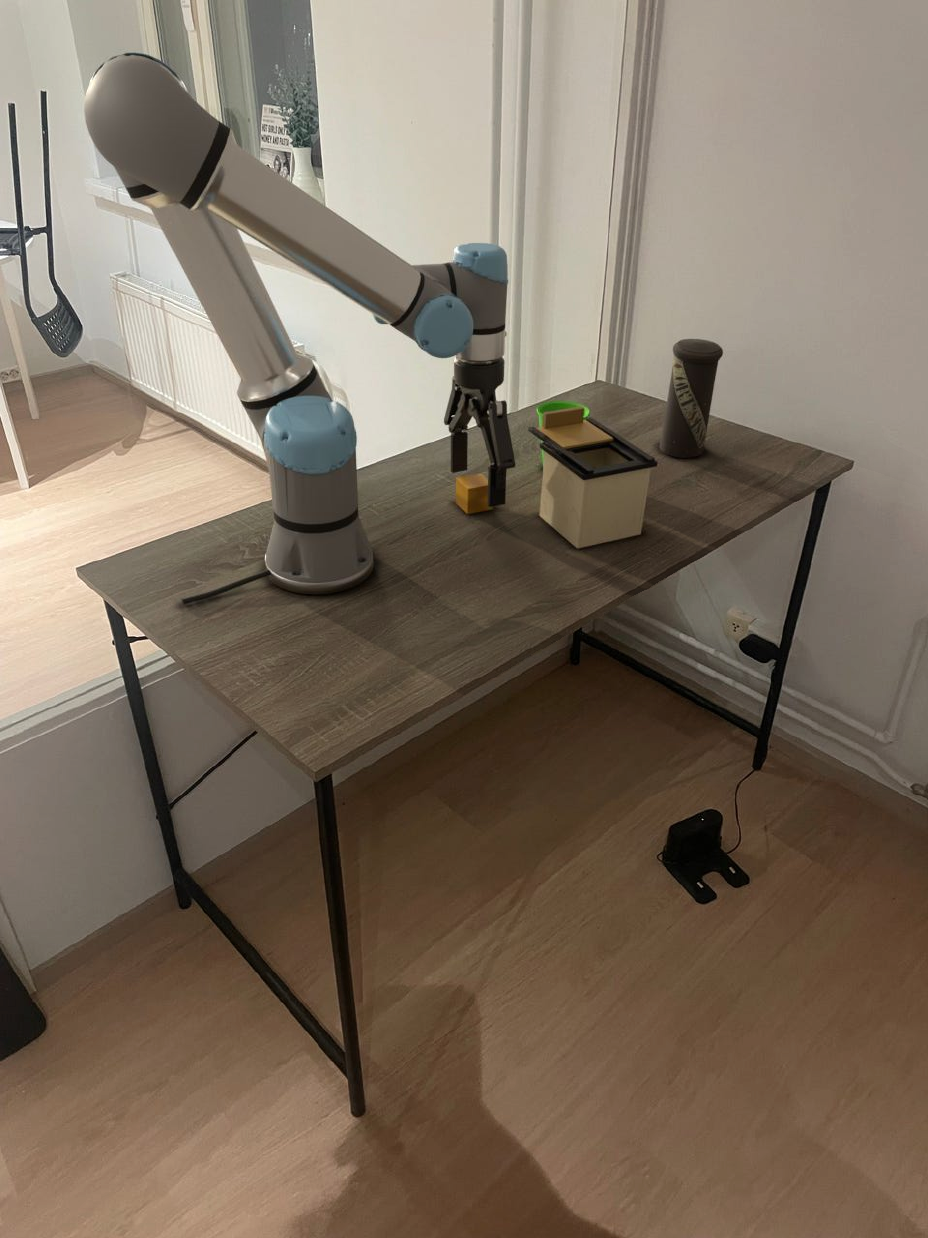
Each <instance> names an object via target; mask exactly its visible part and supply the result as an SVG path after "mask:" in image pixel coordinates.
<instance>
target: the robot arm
mask: <svg viewBox="0 0 928 1238" xmlns="http://www.w3.org/2000/svg"><path fill="white" fill-rule="evenodd" d="M83 105H84V106H83V112H84V121H85V124H86V125H85V126H86V129H87V131H88V135H89V137H90V138H91V140H92V141H91V142H93V144H94V146H95V148H96V149H97V151H98V152H99V154H100V155H101V156H102V157H103V158H104V159H105V161H107V162H108V163H109V164H110V165H111V166H112V167H113V168H114V170H115V172H116V173H117V175H118V177H119V178H120V181H121V182H122V184H123V186H124V188H125V190H126V192H127V193H128V195H129V197H130V199H131V200H132V202H135V203H137V204H140V205H143V206H144V207H147V208H148V209H149V210H150V211H151V212H152V214H153V216H154V218H155V220H156V221H157V223H158V225H159V227H160V229H161V231H162V233H163V235H164V237H165V238H166V240H167V242H168V244H169V246H170V248H171V250H172V252H173V253H174V255H175V257H176V259H177V261H178V263H179V265H180V267H181V269H182V271H183V273H184V274H185V276H186V278H187V280H188V282H189V283H190V286H191V288H192V290H193V291H194V293H195V295H196V297H197V299H198V301H199V303H200V304H201V306H202V308H203V310H204V313H205V314H206V316H207V317H208V320H209V321H210V324H211V326H212V327H213V329H214V331H215V333H216V335H217V336H218V338H219V340H220V342H221V344H222V346H223V348H224V350H225V353H227V355H228V358H229V359H230V361H231V363H232V365H233V367H234V369H235V370H236V372H237V374H238V376H239V378H240V381H239V385H238V387H237V390H236V395H237V397H238V399H239V401H240V403H241V405H242V407H243V409H244V410H245V412H246V414H247V416H248V418H249V420H250V422H251V423H252V426H253V427H254V429H255V431H256V433H257V435H258V437H259V440H260V442H261V446H262V449H263V453H264V456H265V460H266V464H267V468H268V474H269V482H270V483H269V484H270V493H271V503H272V511H273V525H272V529H271V533H270V537H269V540H268V545H267V548H266V552H265V555H264V564H265V570H263V571H260V572H258V573H255V574H252V575H249V576H247V577H244V578H241V579H239V580H236V581H234V582H231V583H229V584H225V585H223V586H220V587H218V588H215V589H213V590H209V591H205V592H203V593H200V594H196V595H191V596H187V597H184V598H181V603H182V605H187V604H190V603H195V602H197V601H198V602H199V601H202V600H205V599H209V598H212V597H215V596H218V595H221V594H224V593H226V592H228V591H231V590H235V589H236V588H239V587H241V586H244V585H247V584H249V583H252V582H255V581H257V580H260V579H263V578H266V577H267V578H269V580H270V581H271V582H272V583H273V584H274V585H276V586H277V587H278V588H281V589H283V590H286V591H288V592H292V593H296V594H301V595H327V594H335V593H339V592H343V591H346V590H350V589H351V588H354V587H356V586H358V585H360V584H361V583H363V582H364V581H366V580H367V579H368V578H369V577H370V575H371V574H372V572H373V569H374V551H373V548H372V546H371V543H370V541H369V539H368V536H367V534H366V531H365V529H364V526H363V524H362V521H361V518H360V516H359V494H358V471H357V469H358V468H357V443H358V442H357V440H358V436H357V430H356V428H355V427H356V426H355V421H354V417H353V415H352V413H351V412H350V411H349V409H348V408H347V407H346V406H345V405H343V404H342V403H340V402H339V401H335V400H334V401H333V399H332V397H331V395H330V393H329V390H328V389H326V387H325V385H324V383H323V382H324V381H323V380H322V378H321V376H320V374H319V372H318V369H317V368H316V366H315V364H314V361H313V360H312V359H311V357H309V356H307V355H304V354H301V353H299V352H297V351H296V349H295V346H294V344H293V342H292V340H291V338H290V336H289V333H288V332H287V330H286V327H285V325H284V324H283V321H282V319H281V317H280V315H279V313H278V310H277V309H276V306H275V305H274V302H273V300H272V298H271V296H270V293H269V292H268V289H267V288H266V286H265V284H264V282H263V279H262V278H261V275H260V273H259V271H258V268H257V267H256V264H255V262H254V260H253V258H252V256H251V255H250V252H249V250H248V248H247V246H246V244H245V242H244V240H243V238H242V236H241V233H240V231H241V232H242V233H244V234H245V235H247V236H249V237H250V238H251V239H253V240H254V241H256V242H258V243H260V244H261V245H263V246H264V247H266V248H268V249H269V250H271V251H272V252H273V253H275V254H277V255H279V256H280V257H282V258H283V259H285V260H287V261H288V262H289V263H291V264H293V265H294V266H296V267H298V268H299V269H301V270H303V271H304V272H306V274H309V275H310V276H312V277H314V278H315V279H316V280H318V281H320V282H322V283H323V284H324V285H326V286H327V287H329V288H330V289H333V290H334V291H335V292H338V293H339V294H340V295H342V296H344V297H345V298H347V299H348V300H350V301H351V302H354V303H355V304H356V305H357V306H359V307H361V308H363V309H364V310H366V311H368V312H369V313H371V314H372V316H373V319H374V320H375V322H376V323H377V324H378V325H389V326H390V327H392V328H394V330H397V331H398V332H399V333H402V334H403V335H404V336H406V337H408V338H409V339H411V340H412V341H414V342H415V343H416V344H417V346H418V348H419V349H421V350H422V351H424V352H426V353H427V354H428V355H429V356H431V357H434V358H437V359H448V358H453V357H454V359H453V376H452V379H451V391H450V394H449V398H448V402H447V406H446V409H445V414H444V417H443V423H444V425H445V426H448V432H449V433H450V473H452V474H455V473H458V472H460V473H461V472H465V471H468V445H469V444H468V443H469V442H468V441H469V439H468V438H469V437H468V436H469V435H468V432H466V431H469V426H468V425H469V423H470V421H471V420H472V419H474V420H475V423H476V426H477V428H479V429H480V431H481V434H482V437H483V441H484V444H485V448H486V451H487V454H488V458H489V462H490V465H489V466H488V467H487V470H488V471H487V477H488V478H487V479H488V506H489V507H492V508H493V507H498V506H502V505H506V494H507V493H506V491H507V470H509V469H514V468H516V460H515V453H514V449H513V442H512V436H511V432H510V426H509V419H508V404H507V401H506V400H497V396H496V390H497V389H498V387H500V386H501V385H502V384H504V382H505V364H506V363H505V358H504V357H503V356H504V355H505V353H506V352H505V351H506V348H505V347H506V337H507V334H508V333H507V331H506V318H507V303H508V302H507V298H508V284H509V274H508V273H509V271H508V269H509V268H508V255H507V252H506V251H505V249H504V248H502V247H501V246H499V245H498V244H493V243H489V242H487V243H486V242H469V243H465V244H464V243H463V244H460V245H458V246H457V247H456V248H455V249H454V252H453V253H454V254H453V255H454V256H453V257H452V261H448V262H444V263H443V262H441V263H427V264H425V263H424V264H410V263H409V262H408V261H406V260H404V258H401V257H400V256H398V255H397V254H396V253H394V252H393V251H391V250H390V249H389V248H388V247H385V245H383V244H381V243H379V242H378V241H377V240H375V239H374V238H372V237H371V236H370V235H368V234H367V233H365V232H363V230H361V229H360V228H358V227H357V226H355V225H354V224H352V223H351V222H349V221H348V220H346V219H345V218H344V217H342V216H341V215H339V214H337V212H335V211H334V210H332V209H331V208H329V207H328V206H326V205H325V204H323V203H322V202H321V201H319V200H318V199H316V198H314V197H313V196H312V195H310V194H309V193H307V192H306V191H304V190H303V189H301V187H298V186H297V185H296V184H294V183H293V182H292V181H290V180H288V179H287V178H285V177H284V176H283V175H282V174H280V173H278V172H277V171H275V170H274V169H273V168H271V167H270V166H268V165H266V164H265V162H262V161H261V160H260V159H258V158H257V157H255V156H253V155H252V154H251V153H250V152H248V151H246V150H245V149H243V148H242V147H241V146H240V145H238V143H237V141H236V138H235V134H234V132H233V129H231V128H230V127H229V126H227V125H226V124H225V123H223V122H221V121H220V120H219V119H217V118H216V117H215V116H213V114H211V113H210V112H208V111H207V110H206V109H205V108H204V107H202V105H200V104H199V103H198V102H197V101H196V100H195V99H194V98H193V97H192V96H191V94H190V93H189V92H188V90H187V88H186V85H185V83H184V82H183V80H181V78H180V77H179V76H178V74H177V73H176V72H175V71H174V69H172V68H171V67H170V66H169V65H168V64H166V63H165V62H163V61H162V60H160V59H159V58H156V57H154V56H152V55H149V54H147V53H141V52H124V53H122V54H119V55H118V54H117V55H113V56H111V57H110V58H108V59H107V60H105V61H104V62H102V63H101V64H100V65H99V66H98V67H97V68H96V70H95V71H94V72H93V75H92V77H91V79H90V80H89V84H88V87H87V90H86V93H85V98H84V103H83Z"/></svg>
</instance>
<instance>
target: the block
mask: <svg viewBox="0 0 928 1238" xmlns="http://www.w3.org/2000/svg"><path fill="white" fill-rule="evenodd" d="M455 504H456V505H458V507H459V508H461V509H462V510H463V511H464V512H465V513H466V514H467V515H471V514H476V513H480V512H486V511H491V510H493V507H489V506H488V478H487V477H486V476H485V475H484V474H483V473H475V474H470V475H469V474H468V475H464V476H458V477H456V478H455Z"/></svg>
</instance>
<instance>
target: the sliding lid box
mask: <svg viewBox="0 0 928 1238" xmlns="http://www.w3.org/2000/svg"><path fill="white" fill-rule="evenodd" d="M586 421H588V422H589V423H591V424H592V425H594V426H595V427H597V428H598V429H600V430H601V431H603V432H604V433H606V434H608V435H609V436H611V437H612V438H613V441H608V442H602V443H596V444H590V445H585V446H579V447H573V448H568V449H564V448H563V447H561V446H560V445H559V444H557V443H556V442H555V441H553V440H552V439H550V438H549V437H548V436H546V435H545V434H544V433H542V432H541V431H539V430H538V429H537V428H538V427H535V426H529V427H528V430H527V431H528V432H529V433H530V434H532V435H533V436H534V437H536V438H537V439H539V440H540V441H541V440H542V441H543V442H542V443H541V442H539V449H541V450H542V449H543V450H544V451H545V455H544V467H543V466H542V467H543V469H542V480H541V481H542V482H541V493H540V506H539V517H540V518H541V519H542V520H544V522H546V523H547V524H548V525H549V526H551V527H552V528H553V529H554V530H555V531H556V532H558V533H559V534H560V535H561V536H562V537H563V538H564V539H565V540H567V541H568V542H569V543H570V544H571V545H572V546H573V547H575V548H576V549H582V548H586V547H591V546H595V545H599V544H603V543H608V542H609V543H610V542H613V541H618V540H622V539H626V538H630V537H635V536H639V535H642V529H643V522H644V517H645V509H646V502H647V495H648V491H649V490H648V489H649V483H650V478H651V471H652V470H651V469H652V468H655V467H658V460H656V458H655V457H654V456H652V455H651V454H649V453H647V452H645V451H644V450H643V449H641V448H640V447H638V446H636V445H635V444H633V443H632V442H630V441H629V440H627V439H625V438H624V437H623V436H621V435H619V434H618V433H616V432H615V431H613V430H611V428H609V427H607V426H605V425H604V424H602V423H601V422H600V421H598V420H597V419H595V418H594V417H590V416H588V417H587V418H586Z"/></svg>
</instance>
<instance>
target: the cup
mask: <svg viewBox="0 0 928 1238" xmlns="http://www.w3.org/2000/svg"><path fill="white" fill-rule="evenodd" d="M580 406H582V407H583V408H584V418H583V420H586V418H589V417H590V414H591V412H590V410H589V408H588V407H587V406H585V405H583V404H581V403H577V402H574V401H568V400H552V401H546V402H544V403H541V404H539V405H538V406H537V408H536V413H537V414H538V422H539V427H542V423H543V412H549V411H555V410H561V409H568V408H574V407H580ZM542 442H543V441H542V440H540V443H542ZM544 455H545V451H544V450H543V449H541V457H542V458H541V459H542V467H544Z"/></svg>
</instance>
